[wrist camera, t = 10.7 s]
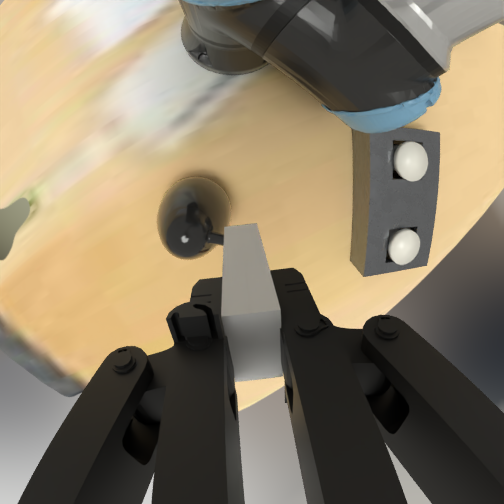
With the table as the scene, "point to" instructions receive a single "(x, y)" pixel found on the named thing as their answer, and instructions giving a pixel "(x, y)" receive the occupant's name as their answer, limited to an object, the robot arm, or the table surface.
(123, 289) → the table surface
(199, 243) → the pump dispenser
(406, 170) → the knob near
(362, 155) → the housing
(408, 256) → the knob far
